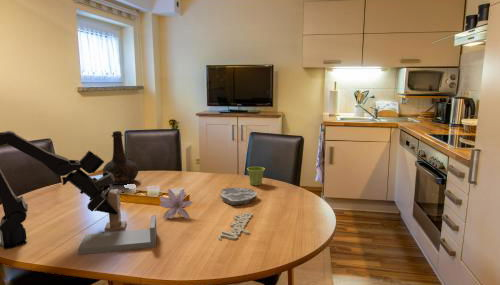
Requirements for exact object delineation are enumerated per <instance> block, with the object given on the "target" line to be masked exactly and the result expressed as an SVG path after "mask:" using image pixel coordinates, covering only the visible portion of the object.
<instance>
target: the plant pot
mask: <svg viewBox="0 0 500 285" xmlns="http://www.w3.org/2000/svg"><path fill="white" fill-rule="evenodd" d="M246 170H247V173H248V177H249V184H250V186H254V185H255V187H256V186H257V185H259V186H261V185H262V182H263V176H264V171H265V170H266V168H265V167H262V166H250V167H247V168H246ZM257 187H258V186H257Z"/></svg>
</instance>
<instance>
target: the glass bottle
mask: <svg viewBox="0 0 500 285" xmlns="http://www.w3.org/2000/svg"><path fill="white" fill-rule="evenodd" d="M123 136H124V134H122V131H118V130H116V131H113V132H112V135H111V137H112V139H113V140H112V143H113V144H112V146H113V147H112V158H111V160H110V161H108V162H107V163H106V164H104V166H103V168H102V174H103V173H104V172H106V171H108V172H109V173H112V174H113V176H114V178H115V181H114V183H113V184H112V185H126V184H129V183H132V182H133V181H134V180H135V179H136V178H137V176H138V174H139V167H138V164H137V163H136V162H135V161H134V160H133V159H131V158H127V156H126V153H125V150H124V144H123V143H124V142H123Z"/></svg>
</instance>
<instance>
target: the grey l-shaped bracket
mask: <svg viewBox="0 0 500 285" xmlns="http://www.w3.org/2000/svg"><path fill="white" fill-rule="evenodd" d="M157 234H158V233H157V215H156V214H155V215H152V214H151V215H150V223H149V228H143V229H141V228H140V229H131V230H120V231H108V232H99V233H98V232H97V233H86V234H85V235H84V237H83V239H82V241H81V242H80V244H79V246H78V248H77V253H78V255H79V256H80V255H88V254H97V253H98V254H99V253H108V252H119V251H121V252H122V251H128V250H129V251H130V250H138V249H149V248H156V247H157V246H156V245H157Z"/></svg>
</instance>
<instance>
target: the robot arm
mask: <svg viewBox="0 0 500 285" xmlns="http://www.w3.org/2000/svg"><path fill="white" fill-rule="evenodd" d="M7 145H9V146H11V148H14V149H16V150H18V151H20V152H22V153H24V154H26V155H28V156H29V157H31V158H33V159H35V160H36V161H39V162H40V163H41V164H43V165H44V166H46V168H48V169H49V170H50V171H51V172H52V173H54V174H55V175H57V176H59V177H61V180H62V185H63V186H65V185H66V184H68V182H69V183H70V184H72V185H73V186H74V187H75V188H77V189H78V190H79V193H80V195H83V194H85V196H87V197H88V198H89V202H88V203H87V209H88V210H89V211H91V212H102V213H106V214H109V213H110V214H115V215H116V214H117V213H118V212H117V211H116V210H115V209H114V208H113V207H112V206H111V205H110V204H109V203H108V193H109V191H110V190H113V189H114V188H113V185H114V184H113V183H114V181H115V178H114V176H113V174H112V173H109V172H108V171H106V172H104V173H103V172H102V176H101V177H100V178H96V177H91V176H90V175H88V174H94V173H96V171H97V170H98V169H99V168H101V166H103V164H104V163H105V160H103V159H102V157H100V156H99V155H98V154H95V153H94V152H92V151H91V150H88V151H87V152H86V153H85V154H84V155H83V157H81V158H80V160H79V159H69V158H68V157H65V156H62V155H60V154H56V153H52V152H50V151H47V150H45V149H43V148H42V147H40V146H38V145H36V144H35V143H33V142H32V141H29V140H27V139H25V138H24V137H22V136H20V135H19V134H17V133H15V132H14V131H13V130H6V131H3V132H0V146H7ZM84 171H85V172H84ZM0 201H1V205H2V209H3V214H4V215H3V216H2V218H1V219H0V246H1V247H2V248H3V249H4V250H9V249H12V248H16V247H19V246H23V245H26V244H27V243H28V242H27V232H26V228H25V227H24V224H23V223H24V221H25V220H26V219H27V217H28V216H27V215H28V208H29V205H28V203H26V201H25V198H24V196H23V195H21V196H19V197H18V196H17V195H16V194H15V193H14V191H13V190H12V187H11V186H10V184H9V182H8V181H7V178H6V176H5V175H4V173H3V171H2V169H1V168H0ZM121 205H122V203H120V206H121ZM25 222H26V221H25Z"/></svg>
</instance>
